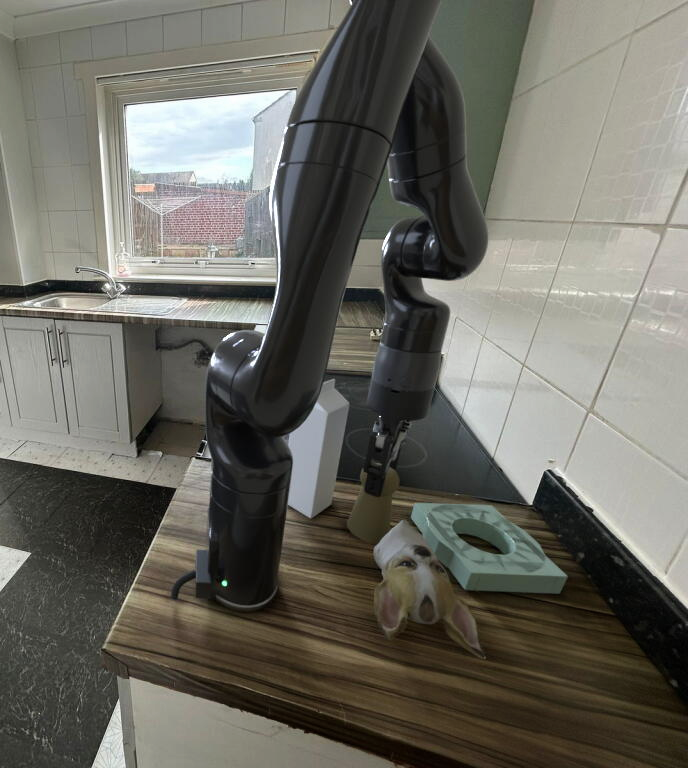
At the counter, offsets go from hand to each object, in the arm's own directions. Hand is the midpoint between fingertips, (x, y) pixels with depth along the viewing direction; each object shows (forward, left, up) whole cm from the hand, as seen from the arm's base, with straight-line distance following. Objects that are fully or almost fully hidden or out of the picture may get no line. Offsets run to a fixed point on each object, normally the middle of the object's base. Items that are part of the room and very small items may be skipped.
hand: (380, 480), depth 59 cm
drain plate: (+14, -4, -9) cm, 17 cm away
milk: (-8, +6, -9) cm, 14 cm away
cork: (0, 0, -9) cm, 9 cm away
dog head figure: (-1, -14, -9) cm, 16 cm away
